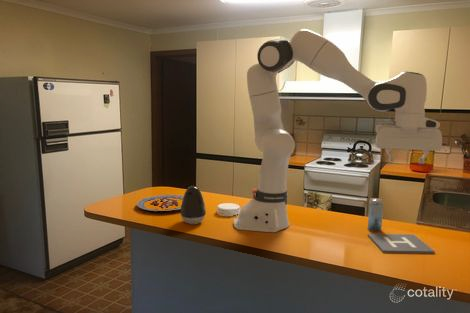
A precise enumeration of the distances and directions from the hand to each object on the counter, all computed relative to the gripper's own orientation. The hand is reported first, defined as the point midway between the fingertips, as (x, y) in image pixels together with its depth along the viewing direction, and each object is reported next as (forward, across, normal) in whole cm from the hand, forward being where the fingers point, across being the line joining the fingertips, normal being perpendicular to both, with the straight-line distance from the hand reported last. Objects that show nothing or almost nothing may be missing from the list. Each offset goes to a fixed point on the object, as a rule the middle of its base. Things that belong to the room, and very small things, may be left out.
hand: (405, 162), depth 123 cm
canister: (+29, -7, +13) cm, 33 cm away
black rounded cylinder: (+29, -78, -1) cm, 83 cm away
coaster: (+30, -68, +15) cm, 76 cm away
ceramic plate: (+30, -99, +16) cm, 105 cm away
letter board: (+29, 0, 0) cm, 29 cm away
